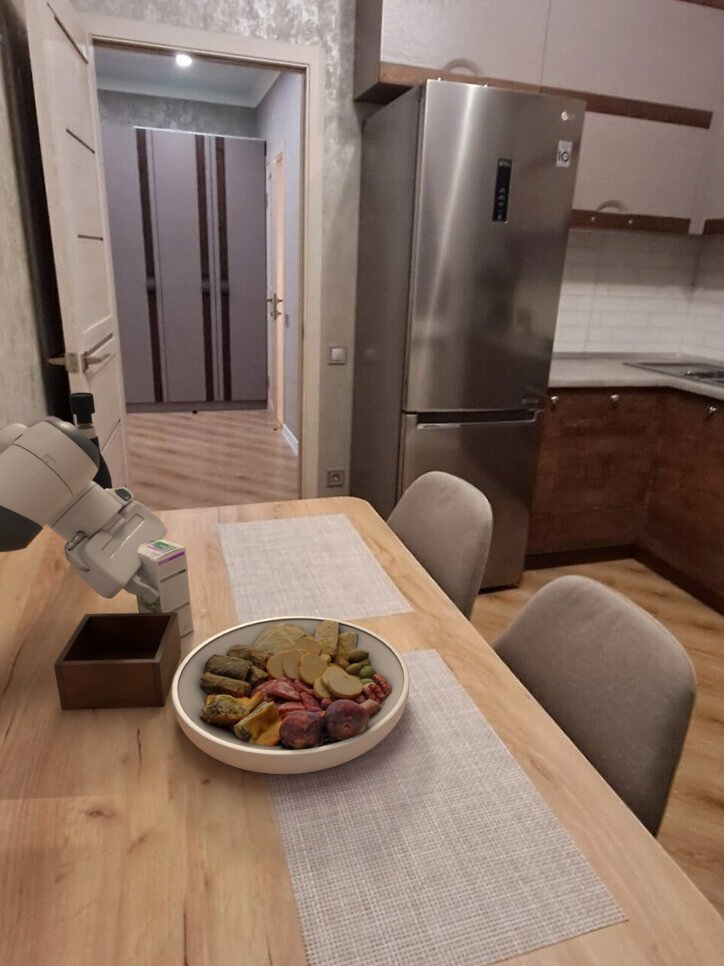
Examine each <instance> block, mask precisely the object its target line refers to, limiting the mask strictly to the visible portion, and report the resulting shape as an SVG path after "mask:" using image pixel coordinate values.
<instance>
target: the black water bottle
mask: <svg viewBox="0 0 724 966" xmlns="http://www.w3.org/2000/svg"><path fill="white" fill-rule="evenodd" d="M68 398H69V405H70V413H71V414H72V415H75V417H76V425H77V426H75V427H76V428H77V429H78V430H79V431H81V432H82V433H83V434H84V435H85V436H86V437H87V438H88V439H89V440H91V441H92V442H93V443H94V444H95V446H96V447H97V448H98V453H99V471H97V473H96V475H95V477H94V478H93V480H92V481H94V482H95V483H97V484H98V485H99V486H101V487H102V488H103V489H114V488H113V482H112V481H113V479H112V476H111V473H110V470H109V467H108V464H107V462H106V460H105V458H104V456H103V455H102V453H101V447H100V441H99V440H100V439H99V437H98V435H97V432H96V431H97V429H96V427H95V425H94V421H93V416H92V415H93V414H95V413H96V407H95V406H96V405H95V397H94V394H93V393H91V392H83V391H82V392H73V393H70V394H69V395H68Z"/></svg>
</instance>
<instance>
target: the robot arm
mask: <svg viewBox="0 0 724 966" xmlns="http://www.w3.org/2000/svg"><path fill="white" fill-rule="evenodd" d="M76 427H77V426H75V425H73V424H72V423H71V422H68V421H63V420H57V419H56V420H55V419H47V420H42V421H41V422H39V423H37V424H35V425H33V426H30V427H28V426H26V425H25V424H22V423H19V422H14V423H9V424H7V425H5V426H3V427H1V428H0V553H10V552H17V551H22V550H25V549H27V548H28V546H29V545H31V543H32V542H33V541H34V540H35V539H36V538H37V536H38V535H39V534H40V533H42V531H43V530H44V527H45V526H47V527H48V528H49V529H50V530H52V531H53V532H54V533H55V534H56V535H58V536H59V537H60V538H61V539H63V541H65V544H64V546H63V550H64V554H65V559H66V560H67V561H68V562H69V563H70V565H71V567H72V569H73V571H74V572H75V573H76V574H77V575H78V576H79V577H80V578H81V579H82V580H83V581H84V582H85V583H86V585H88V586H89V587H90V588H91V589H92V590H93V591H95V593H97V594H98V595H99V596H101V597H102V598H105V599H108V600H109V599H111V600H112V599H113V598H114V597H115V596H117V595H118V594H119V593H120V591H122V590H124V591H125V592H127V593H128V594H131V595H135V596H136V595H137V596H141V597H143V598H144V599H145V600H146V601H148V602H149V603H153V602H154V601H155V600H156V599H157V598H158V597H159V595H160V593H161V591H160V590H159V589H157V588H156V587H155V586H154V585H153V584H152V585H151V586H149V585H147V584H145V583H142V582H140V580H141V579H140V578H139V577H138V576H137V575H136V574H135V573H136V572H137V570H138V569H139V568H140V567H141V565H142V564H143V562H142V560H141V558H140V557H139V556H138V549H139V547H140V545H141V544H143V543H146V542H148V541H151V540H155V539H158V538H161V539H164V538H165V536H166V535H167V534H168V530H167V527H166V526H165V524H164V522H162V520H161V519H160V518H158V516H157V515H156V514H154V513H153V512H152V511H151V510H150V509H149V508H148V507H147V506H146V505H144V504H143V503H142V502H140V501H138V500H136V499H134V498H135V495H134V493H133V492H132V491H131V490H130V489H129V488H127V487H125V486H122V487H116V488H113V489H103V488H102V487H101V486H99V485H98V484H97V483H95V482H94V481H92V480H93V478H94V477H95V475H96V473H97V471H99V453H98V448H97V447H96V446H95V444H94V443H93V442H92V441H91V440H89V439H88V438H87V437H86V436H85V435H84V434H83V433H82V432H81V431H79V430H78V429H77V428H76Z"/></svg>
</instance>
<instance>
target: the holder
mask: <svg viewBox="0 0 724 966" xmlns="http://www.w3.org/2000/svg"><path fill="white" fill-rule="evenodd" d="M181 655H182V644H181V637H180V631H179V620H178V613H177V612H175V613H172V612H171V613H139V612H116V613H115V612H114V613H112V612H111V613H109V612H108V613H84V615H83V617H82V618H81V620H80V622H79V623H78V625H77V626H76V628H75V630H74V631H73V633H72V634H71V636H70V638H69V639H68V641H67V643H66V644H65V646H64V647H63V649H62V651H61V652H60V654H59V655H58V656H57V658H56V660H55V662H54V664H53V670H54V675H55V680H56V687H57V691H58V697H59V698H58V699H59V703H60V709H61V710H63V711H65V710H91V709H93V710H94V709H96V710H97V709H124V708H125V709H126V708H127V709H128V708H130V709H131V708H154V707H155V708H161V707H165V705H166V701H167V699H168V695H169V693H170V689H171V687H172V682H173V678H174V675H175V673H176V671H177V669H178V666H179V662H180V658H181Z"/></svg>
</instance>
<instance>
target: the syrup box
mask: <svg viewBox="0 0 724 966" xmlns="http://www.w3.org/2000/svg"><path fill="white" fill-rule="evenodd" d="M186 550H187V549H186V547H185V546H183V545H181V544H178V543H176V542H173V541H169V540H167V539H164V538H163V539H161V538H158V539H155V540H151V541H148V542H146V543H143V544H141V545H140V547H139V549H138V556H139V557H140V558H141V560H142V562H143V564H142V565H141V567H140V568H139V569H138V570H137V572H136V573H135V574H136V575H137V576H138V577H139V578H140V579H141V580H140V582H142V583H145V584H147V585H149V586H151V585H152V584H153V585H154V586H155V587H156V588H157V589H159V590H160V591H161V593H160V595H159V597H158V598H157V599H156V600H155V601H154V602H153V603H149V602H148V601H146V600H145V599H144V598H143V597H141V596H137V595H135V596H136V604H137V611H138V612H137V613H171V612H172V613H175V612H177V613H178V620H179V631H180V638H182V637H184V636H185V635H188V634H189V633H191V632H193V631H194V619H193V611H192V601H191V592H190V582H189V581H190V580H189V569H188V561H187V551H186Z"/></svg>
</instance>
